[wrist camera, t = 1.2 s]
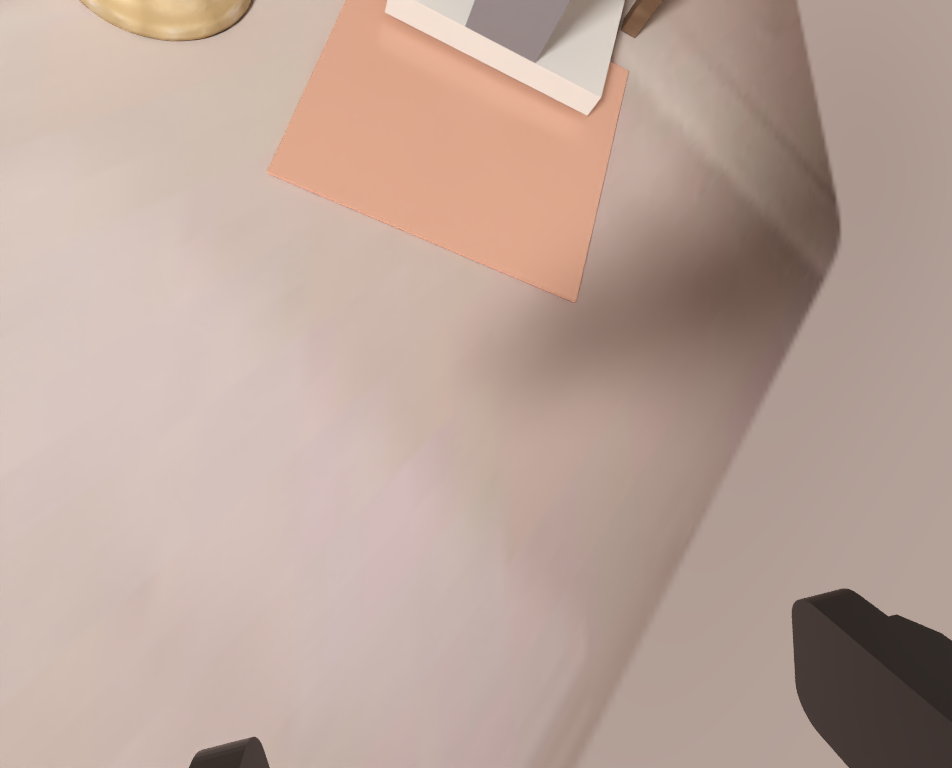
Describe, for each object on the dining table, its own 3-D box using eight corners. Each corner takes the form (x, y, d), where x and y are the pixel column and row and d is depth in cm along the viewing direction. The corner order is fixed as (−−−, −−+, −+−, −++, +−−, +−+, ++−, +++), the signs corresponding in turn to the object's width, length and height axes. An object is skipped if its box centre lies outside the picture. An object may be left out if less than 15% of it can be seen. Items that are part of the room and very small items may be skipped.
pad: (267, 173, 27) (267, 170, 27) (375, -63, 32) (376, -66, 32) (574, 302, 31) (576, 301, 31) (626, 73, 36) (628, 71, 36)
